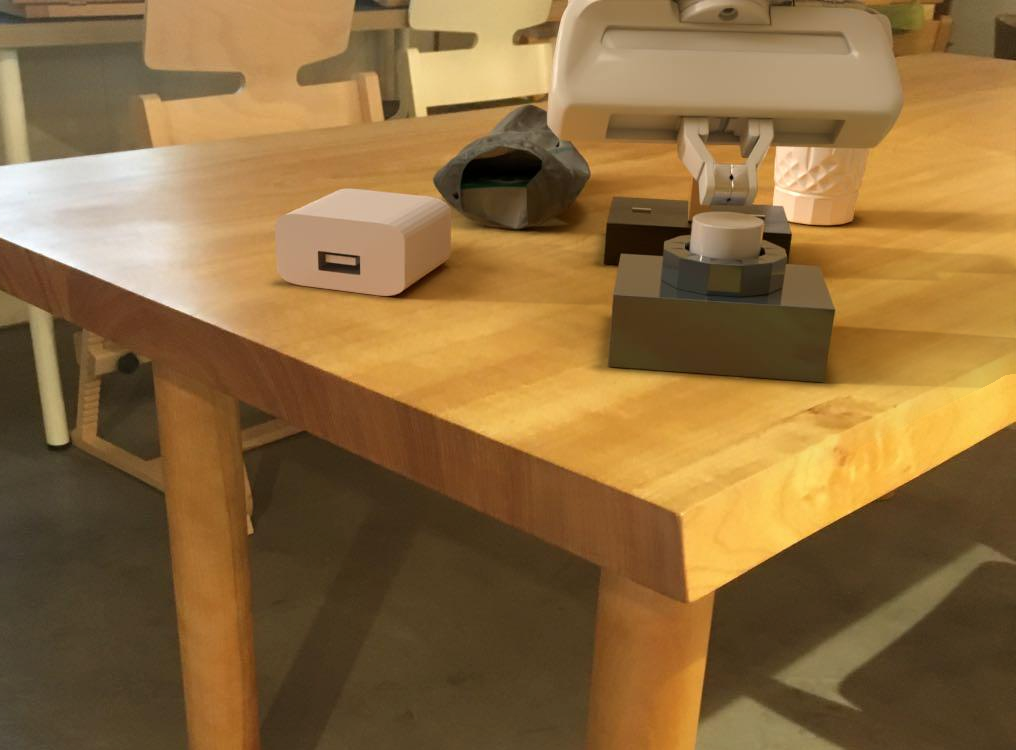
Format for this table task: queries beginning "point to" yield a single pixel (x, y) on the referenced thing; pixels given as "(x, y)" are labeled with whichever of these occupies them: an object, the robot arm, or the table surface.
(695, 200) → the tan block
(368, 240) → the charger
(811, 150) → the white cup
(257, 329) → the table surface
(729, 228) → the white push button
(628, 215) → the panel
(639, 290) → the button base box
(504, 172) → the grey pouch
